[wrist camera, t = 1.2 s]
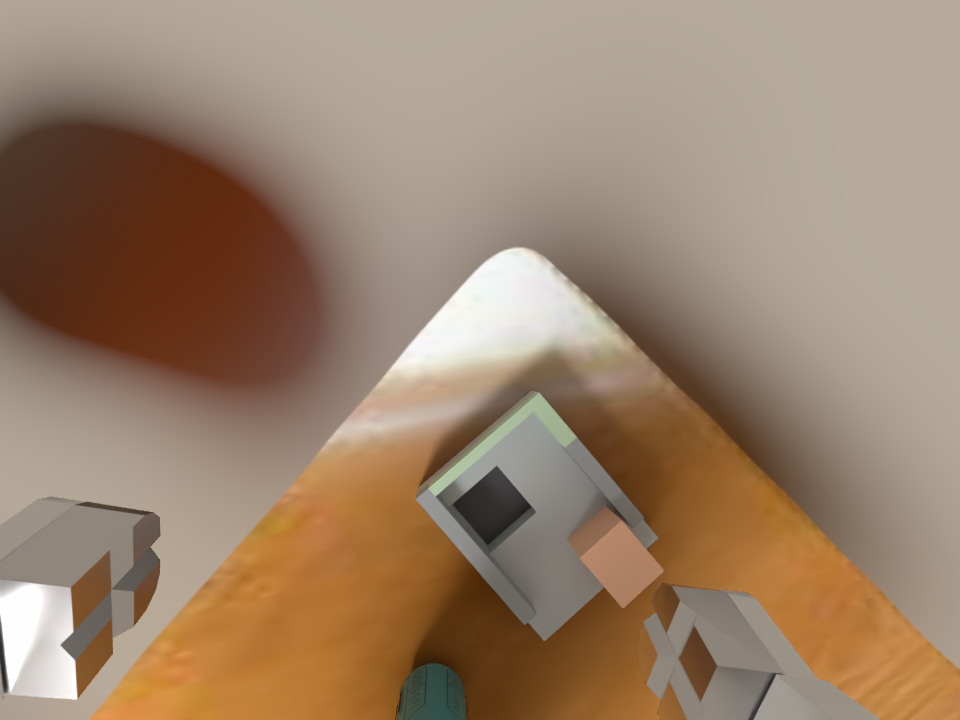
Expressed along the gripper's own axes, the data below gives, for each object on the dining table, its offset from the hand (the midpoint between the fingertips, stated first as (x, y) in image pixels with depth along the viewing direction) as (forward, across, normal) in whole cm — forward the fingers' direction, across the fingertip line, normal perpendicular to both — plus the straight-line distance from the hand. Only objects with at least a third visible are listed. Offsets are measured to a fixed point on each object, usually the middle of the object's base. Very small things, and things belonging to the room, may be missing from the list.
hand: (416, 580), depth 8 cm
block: (+32, +20, -22) cm, 44 cm away
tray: (+35, +13, -21) cm, 43 cm away
